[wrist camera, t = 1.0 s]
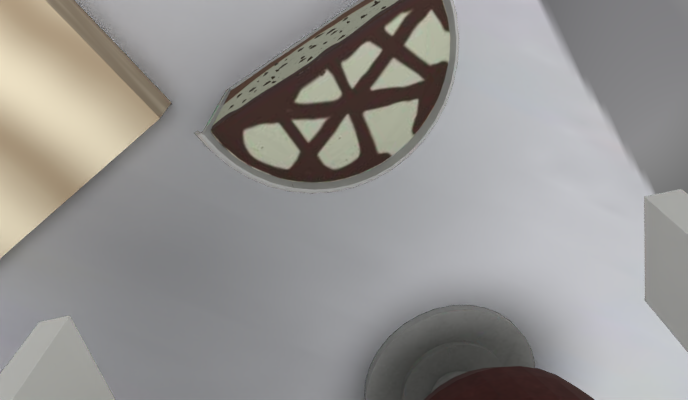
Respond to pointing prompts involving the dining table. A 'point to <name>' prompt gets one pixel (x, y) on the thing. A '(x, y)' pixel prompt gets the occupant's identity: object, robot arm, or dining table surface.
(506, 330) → the mate gourd
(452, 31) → the food container
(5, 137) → the birch platform
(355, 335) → the dining table surface
